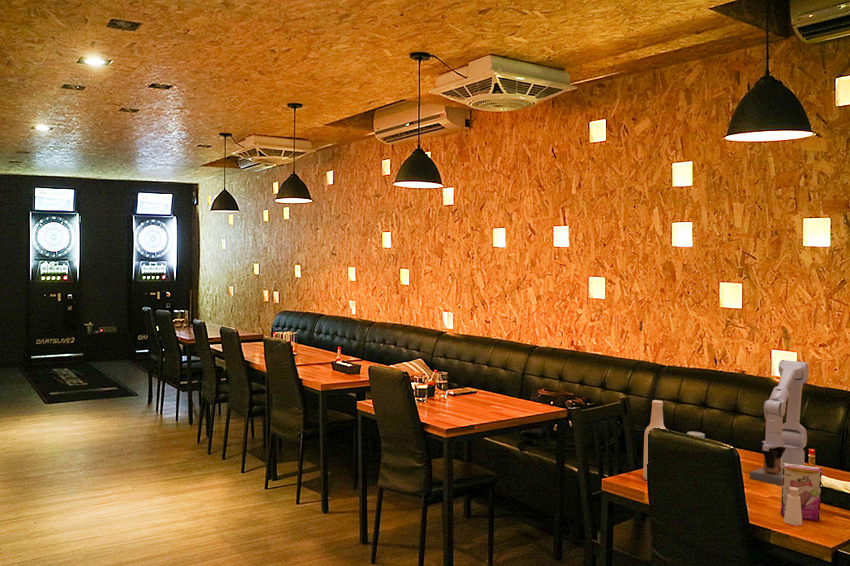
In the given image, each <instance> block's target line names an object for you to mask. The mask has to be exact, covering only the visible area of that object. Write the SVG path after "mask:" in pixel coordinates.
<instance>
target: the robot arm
mask: <svg viewBox="0 0 850 566" xmlns="http://www.w3.org/2000/svg"><path fill="white" fill-rule="evenodd" d="M809 370H810V369H809V364H808V362H807V361H795V360H784V359H781V360H780V361H779V362H778V373H779V376H780V378H779V382H778V384H777V386H774V387H773V390H772V392H771V394H770V397H769V399H768V400H765V401H764V404H763V413H764V419H765V440H762V441H761V443H762V448H761V449H760V451H761V453H762V455H763V458H765V461H766V466H767V468H772V469H773V467H774V462H775V457H777V458H781V470H782V467H783V463H789V464H796V465H804V466H805V457H806V456H805V454H806V453H805V450H804V448H805V447H806V446H807V442H808V436H807V429H806V428H805V427H804V426H803V425H802V424H801V423H800V419H801V408H802V407H801V406H802V393H803V385H804V384H805V383H808V380H809V373H810V371H809ZM786 408H787V410H786ZM785 414H786V419H785V420H786V421H785V422H784V423H783V417H784V416H785Z"/></svg>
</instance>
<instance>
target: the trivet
mask: <svg viewBox="0 0 850 566" xmlns="http://www.w3.org/2000/svg"><path fill="white" fill-rule="evenodd" d="M750 478H751V479H750ZM749 479H750V480H754V479H755V480H754V481H758V480H759V482H762V481H764V482H763V483H766V482H768V483H767V484H771V483H773V484H772V485H775V484H777V485H776V486H779V485H781V486H780V487H782V470H781V471H780V472H778V473H772V472H767V471H764V466H763V467H760V468H757V469H755V470H752V471H750V472H749Z"/></svg>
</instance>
